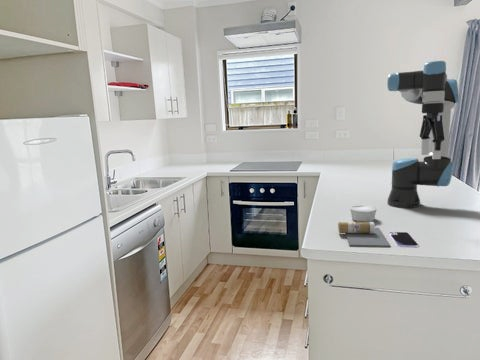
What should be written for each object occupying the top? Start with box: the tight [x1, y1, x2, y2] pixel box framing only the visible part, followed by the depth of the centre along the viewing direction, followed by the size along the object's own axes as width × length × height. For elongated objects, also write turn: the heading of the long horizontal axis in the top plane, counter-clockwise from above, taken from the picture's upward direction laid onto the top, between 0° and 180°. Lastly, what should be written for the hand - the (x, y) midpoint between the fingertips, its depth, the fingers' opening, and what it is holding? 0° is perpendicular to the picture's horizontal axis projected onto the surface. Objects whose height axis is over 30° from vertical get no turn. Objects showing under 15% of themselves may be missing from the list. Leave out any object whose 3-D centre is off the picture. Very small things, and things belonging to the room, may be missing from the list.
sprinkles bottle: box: [337, 221, 376, 234], centre depth 140 cm, size 5×5×13 cm
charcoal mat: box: [344, 227, 392, 248], centre depth 137 cm, size 20×14×1 cm
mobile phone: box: [387, 231, 420, 248], centre depth 132 cm, size 8×1×15 cm
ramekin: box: [349, 204, 377, 223], centre depth 159 cm, size 11×11×5 cm
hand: (430, 156), depth 142 cm, fingers open, 13 cm apart
